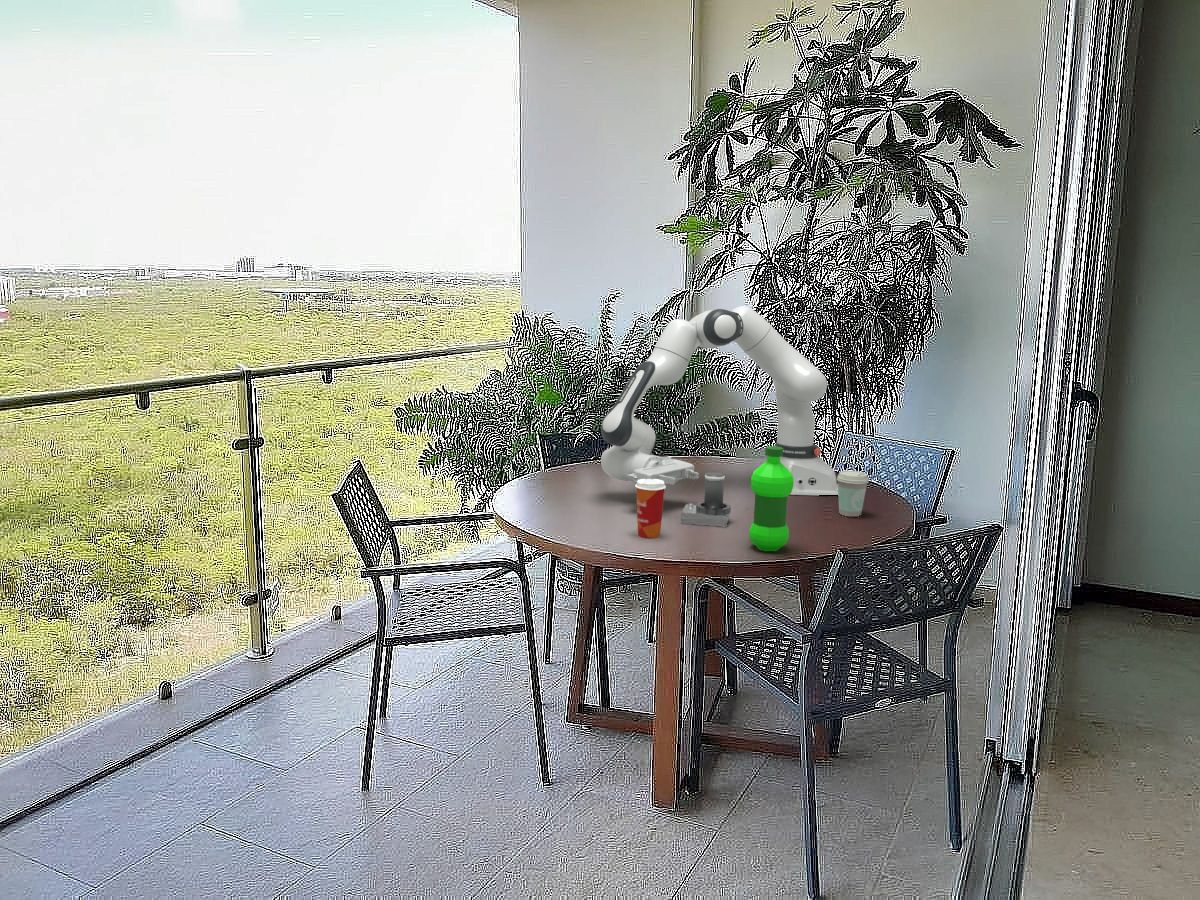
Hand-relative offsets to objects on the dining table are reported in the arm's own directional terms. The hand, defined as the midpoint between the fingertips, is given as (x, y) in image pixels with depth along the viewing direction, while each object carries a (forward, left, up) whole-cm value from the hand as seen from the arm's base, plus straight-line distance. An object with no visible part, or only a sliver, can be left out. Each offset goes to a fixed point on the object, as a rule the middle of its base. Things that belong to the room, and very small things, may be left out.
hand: (686, 478), depth 253 cm
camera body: (-6, +5, -10) cm, 13 cm away
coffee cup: (-44, -14, -10) cm, 48 cm away
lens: (-8, +5, -7) cm, 12 cm away
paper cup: (+6, +23, -10) cm, 26 cm away
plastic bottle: (-24, +25, -10) cm, 36 cm away
